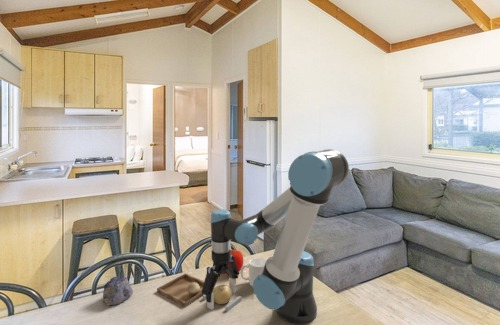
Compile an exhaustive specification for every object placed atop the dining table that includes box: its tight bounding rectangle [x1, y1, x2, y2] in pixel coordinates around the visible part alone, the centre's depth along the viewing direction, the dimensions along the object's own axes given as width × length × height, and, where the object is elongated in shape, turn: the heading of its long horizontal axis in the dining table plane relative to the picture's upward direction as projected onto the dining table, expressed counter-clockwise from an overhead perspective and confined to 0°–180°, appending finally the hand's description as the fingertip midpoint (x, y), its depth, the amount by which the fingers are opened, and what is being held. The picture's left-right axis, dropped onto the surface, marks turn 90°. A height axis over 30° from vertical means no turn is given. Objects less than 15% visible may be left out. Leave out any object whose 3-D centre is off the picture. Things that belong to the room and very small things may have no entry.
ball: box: [187, 282, 200, 295], centre depth 123 cm, size 5×5×5 cm
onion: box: [212, 284, 233, 305], centre depth 119 cm, size 8×8×7 cm
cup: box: [240, 257, 267, 288], centre depth 131 cm, size 8×12×10 cm
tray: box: [156, 272, 210, 308], centre depth 126 cm, size 18×16×2 cm
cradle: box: [202, 285, 242, 312], centre depth 119 cm, size 13×8×2 cm, turn 54°
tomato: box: [224, 249, 244, 274], centre depth 142 cm, size 10×11×11 cm
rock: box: [102, 276, 134, 306], centre depth 120 cm, size 11×10×10 cm
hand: (221, 300), depth 119 cm, fingers open, 12 cm apart
